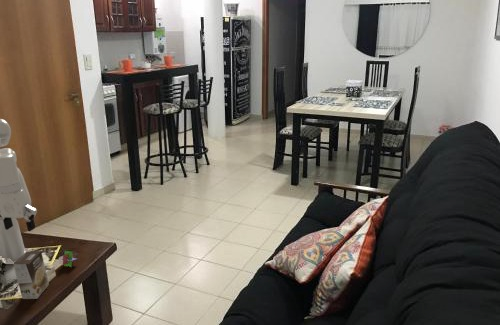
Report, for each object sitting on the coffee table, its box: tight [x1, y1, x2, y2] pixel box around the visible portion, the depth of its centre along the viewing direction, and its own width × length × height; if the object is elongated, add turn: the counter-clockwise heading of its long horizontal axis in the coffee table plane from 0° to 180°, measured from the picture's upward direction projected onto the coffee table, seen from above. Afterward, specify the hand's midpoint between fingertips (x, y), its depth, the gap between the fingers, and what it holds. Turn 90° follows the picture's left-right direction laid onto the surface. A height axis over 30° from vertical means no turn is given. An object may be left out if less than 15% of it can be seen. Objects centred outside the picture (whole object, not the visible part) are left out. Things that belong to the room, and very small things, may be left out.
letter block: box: [44, 264, 57, 283], centre depth 167 cm, size 6×5×5 cm
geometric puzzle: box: [58, 250, 77, 268], centre depth 176 cm, size 7×7×8 cm
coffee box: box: [13, 250, 50, 300], centre depth 157 cm, size 9×6×16 cm
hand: (20, 228), depth 150 cm, fingers open, 9 cm apart
